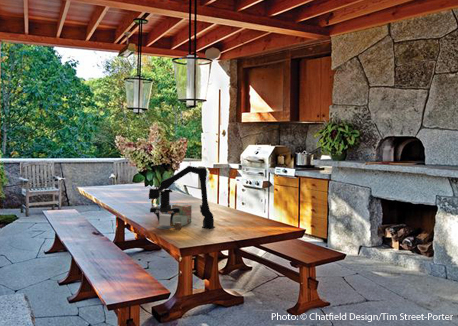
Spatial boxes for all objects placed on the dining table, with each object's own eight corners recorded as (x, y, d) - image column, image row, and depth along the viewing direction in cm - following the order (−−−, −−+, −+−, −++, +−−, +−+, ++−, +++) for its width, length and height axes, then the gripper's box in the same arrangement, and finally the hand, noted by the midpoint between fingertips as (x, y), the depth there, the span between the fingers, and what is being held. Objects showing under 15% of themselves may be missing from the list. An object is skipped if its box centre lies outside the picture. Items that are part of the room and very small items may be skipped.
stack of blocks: (161, 220, 294) (161, 203, 293) (166, 219, 299) (166, 202, 298) (186, 224, 283) (186, 206, 282) (191, 222, 289) (191, 205, 288)
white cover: (170, 223, 275) (171, 214, 275) (169, 225, 268) (170, 216, 268) (160, 222, 275) (160, 213, 274) (158, 225, 268) (159, 215, 268)
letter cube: (181, 228, 272) (181, 221, 272) (181, 229, 268) (181, 223, 268) (175, 227, 272) (175, 221, 272) (174, 229, 268) (174, 223, 268)
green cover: (186, 224, 283) (187, 215, 282) (181, 226, 277) (181, 217, 276) (178, 223, 286) (178, 214, 286) (172, 224, 280) (172, 216, 280)
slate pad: (174, 227, 273) (174, 226, 273) (164, 230, 265) (164, 229, 265) (165, 225, 278) (165, 224, 278) (155, 227, 271) (155, 227, 271)
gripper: (148, 201, 262) (148, 225, 263) (178, 201, 263) (178, 225, 264) (151, 198, 273) (151, 221, 274) (179, 198, 274) (179, 221, 275)
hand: (165, 222), depth 271 cm, fingers closed on white cover, 7 cm apart
